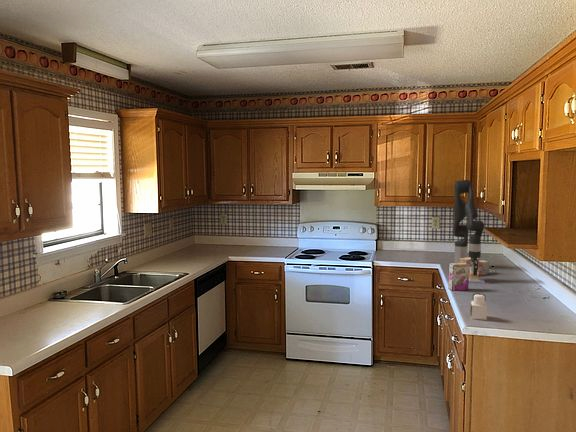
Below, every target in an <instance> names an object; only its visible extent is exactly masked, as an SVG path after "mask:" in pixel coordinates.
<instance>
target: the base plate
mask: <svg viewBox="0 0 576 432" xmlns="http://www.w3.org/2000/svg"><path fill="white" fill-rule="evenodd" d="M468 284H486V281H485V280H484V278H482V277H478V280H470V278H469V283H468Z"/></svg>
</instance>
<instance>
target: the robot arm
mask: <svg viewBox="0 0 576 432" xmlns="http://www.w3.org/2000/svg"><path fill="white" fill-rule="evenodd" d="M453 188H454V189H453V191H454V203H453V204H454V206H453V228H452V229H453V230H452V233H453V236H454V237H455V238H456V237H457V238H462V239H460V240H457V241H455V242H454V256H453V258H454V261H453V262H454V263H460V258H468V257H470V258H471V267H473V275H474V276H477V270H478V261H477V258H479V259H480V258H481V257H482V256H481V255H482V243H481V242H482V236H483V232H484V230H485V222H484V221H482V220H476V219H477V218H478V216H479V214H478V210H477V207H476V204H475V198H474V191H473V184H472V181H470V179H461V180H456V181H455V182H454V184H453ZM462 194H463V195H464V194H467V196H468V197H467V200H466V201H465V200H464V199H463V198H462V197H461V195H462ZM465 218H466V224H460V223H462V221H463V220H464V219H465ZM469 231H470V232H475V233H473V234H470V235H469ZM468 242H469V243H468ZM475 267H476V268H475Z"/></svg>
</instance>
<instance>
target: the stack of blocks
mask: <svg viewBox="0 0 576 432" xmlns="http://www.w3.org/2000/svg"><path fill="white" fill-rule="evenodd" d="M477 261H478V268H479V276H483V275H485V276H486V275H489V274H490V273H489V272H490V261H488V260H484V259H483V260H482V259H481V260H480V258H477ZM460 263H467V264H469V273H470V267H471V258H470V257H469V256H467V258H460Z"/></svg>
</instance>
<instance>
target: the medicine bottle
mask: <svg viewBox="0 0 576 432" xmlns="http://www.w3.org/2000/svg"><path fill="white" fill-rule="evenodd" d="M486 300H487V299H486V294H484V293H478V292H476V293H473V294H472V301H470V309H469V310H470V312H469V313H470V315H469V316H470V318H471V319H472V320H479V321H480V320H484V321H487V320H488V305H487V303H486Z"/></svg>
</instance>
